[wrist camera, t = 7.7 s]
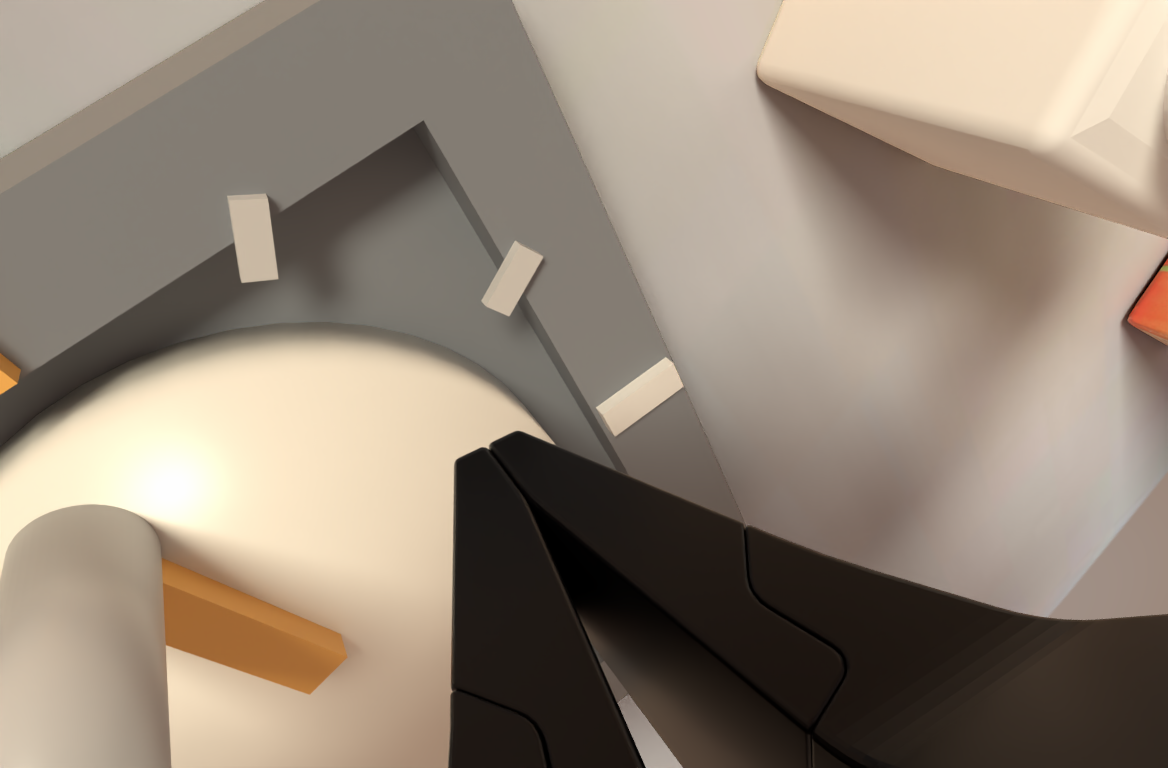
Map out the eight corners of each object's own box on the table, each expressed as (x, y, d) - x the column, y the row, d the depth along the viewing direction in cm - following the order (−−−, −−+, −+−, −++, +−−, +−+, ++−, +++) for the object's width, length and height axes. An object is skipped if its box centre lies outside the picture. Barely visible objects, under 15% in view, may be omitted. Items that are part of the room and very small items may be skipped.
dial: (644, 506, 20) (826, 717, 15) (317, 830, 20) (382, 1152, 15) (267, 177, 12) (371, 379, 7) (-266, 714, 12) (-563, 1313, 7)
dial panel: (216, 909, 22) (226, 1027, 19) (-725, 594, 10) (-977, 795, 8) (718, 526, 24) (779, 591, 21) (415, -91, 12) (481, -91, 10)
